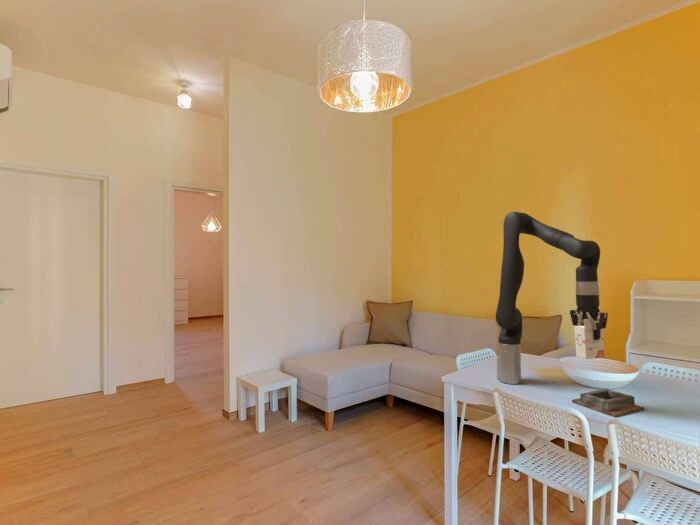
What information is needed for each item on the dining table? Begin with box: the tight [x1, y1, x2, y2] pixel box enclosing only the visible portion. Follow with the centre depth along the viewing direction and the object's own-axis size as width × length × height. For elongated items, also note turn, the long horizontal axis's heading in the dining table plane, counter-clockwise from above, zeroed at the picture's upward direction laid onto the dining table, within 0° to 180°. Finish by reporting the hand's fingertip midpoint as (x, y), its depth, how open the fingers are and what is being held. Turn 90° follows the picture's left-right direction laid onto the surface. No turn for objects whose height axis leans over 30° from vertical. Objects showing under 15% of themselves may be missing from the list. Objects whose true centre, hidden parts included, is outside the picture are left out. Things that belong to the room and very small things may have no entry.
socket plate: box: [571, 388, 645, 418], centre depth 145 cm, size 16×16×4 cm
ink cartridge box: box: [574, 317, 605, 360], centre depth 149 cm, size 9×5×15 cm, turn 105°
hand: (589, 338), depth 149 cm, fingers closed on ink cartridge box, 5 cm apart
